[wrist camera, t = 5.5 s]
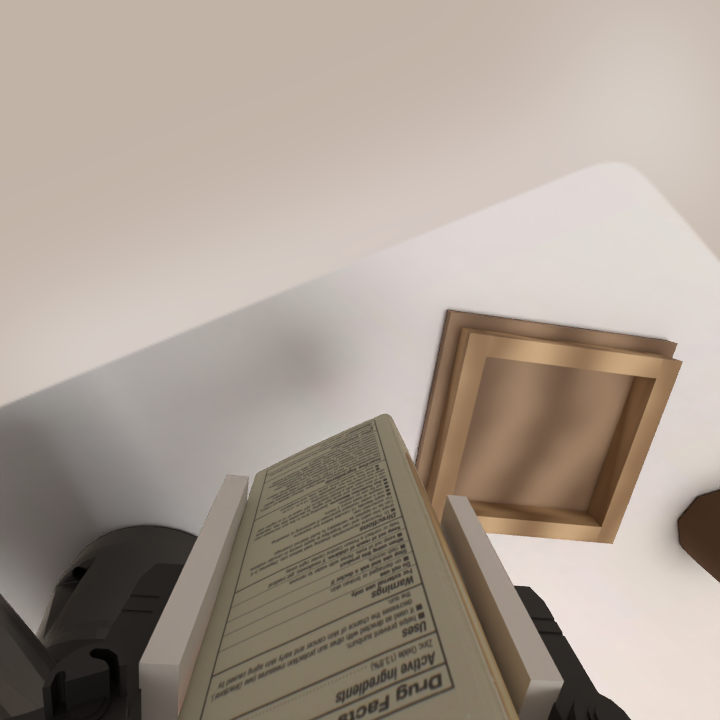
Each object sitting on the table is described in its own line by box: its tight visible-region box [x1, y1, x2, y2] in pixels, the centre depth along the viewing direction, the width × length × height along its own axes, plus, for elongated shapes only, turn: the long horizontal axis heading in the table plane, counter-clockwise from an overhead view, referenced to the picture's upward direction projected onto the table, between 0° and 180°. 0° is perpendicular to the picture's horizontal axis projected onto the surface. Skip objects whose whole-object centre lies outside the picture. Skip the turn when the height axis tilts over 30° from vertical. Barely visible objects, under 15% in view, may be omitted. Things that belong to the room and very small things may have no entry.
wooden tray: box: [415, 310, 682, 544], centre depth 31 cm, size 18×18×3 cm
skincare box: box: [177, 414, 520, 720], centre depth 11 cm, size 6×4×12 cm
